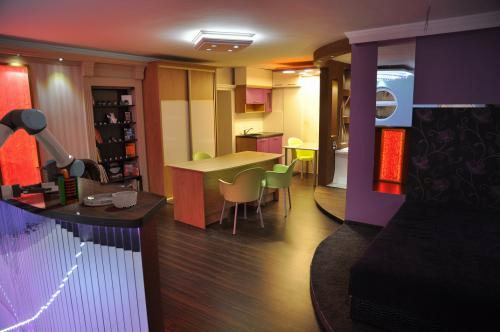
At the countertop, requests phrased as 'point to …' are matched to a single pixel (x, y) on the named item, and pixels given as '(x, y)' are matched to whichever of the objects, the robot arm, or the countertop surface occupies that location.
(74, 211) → the countertop surface
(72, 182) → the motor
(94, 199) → the tray
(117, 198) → the ramekin
